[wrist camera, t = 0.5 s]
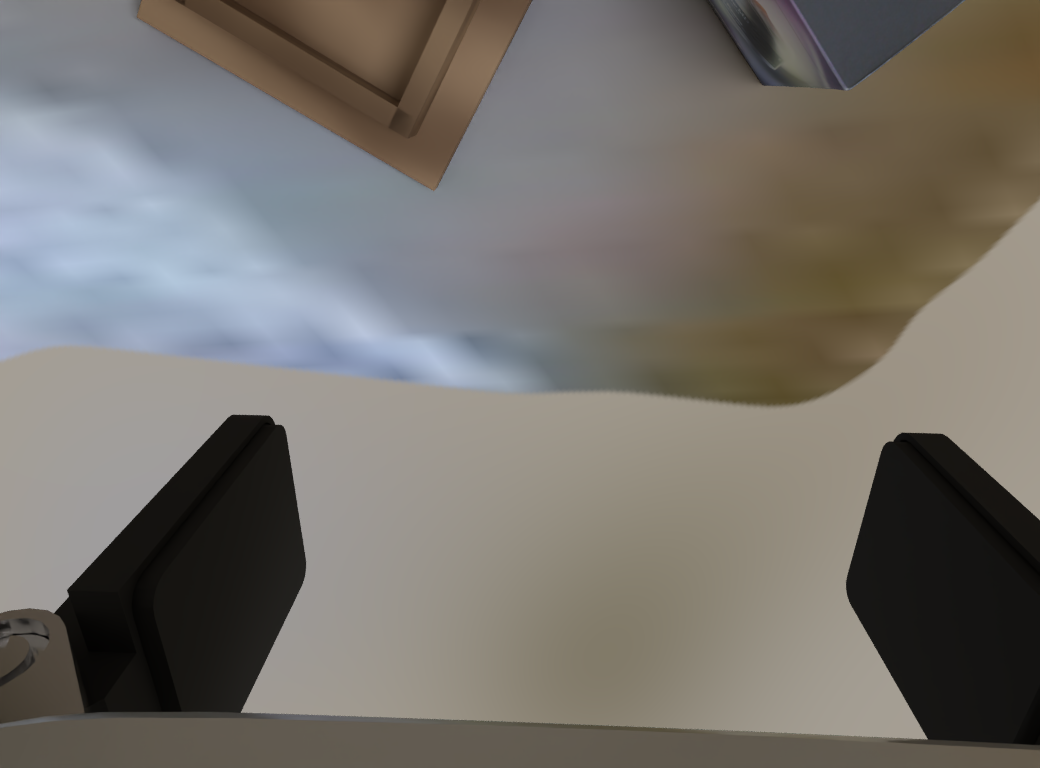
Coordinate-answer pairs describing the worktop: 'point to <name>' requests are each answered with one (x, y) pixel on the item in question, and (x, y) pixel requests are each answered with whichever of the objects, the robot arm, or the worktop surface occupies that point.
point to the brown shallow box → (359, 64)
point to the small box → (825, 36)
